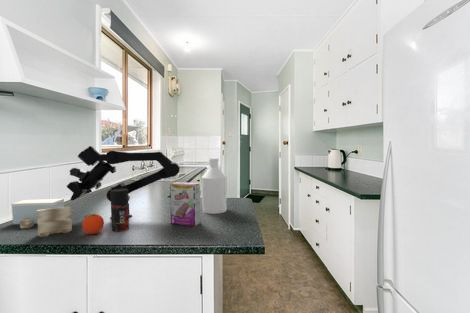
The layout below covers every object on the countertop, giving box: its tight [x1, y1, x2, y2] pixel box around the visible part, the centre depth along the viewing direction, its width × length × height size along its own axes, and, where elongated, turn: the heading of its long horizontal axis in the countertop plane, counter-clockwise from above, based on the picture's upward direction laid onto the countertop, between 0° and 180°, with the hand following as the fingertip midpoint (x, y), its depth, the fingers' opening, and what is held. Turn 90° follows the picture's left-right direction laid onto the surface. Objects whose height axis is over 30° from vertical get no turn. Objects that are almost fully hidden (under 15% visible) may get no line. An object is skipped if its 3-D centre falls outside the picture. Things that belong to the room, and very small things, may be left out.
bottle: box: [201, 157, 228, 215], centre depth 120 cm, size 12×12×25 cm
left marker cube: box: [19, 218, 35, 229], centre depth 99 cm, size 3×3×3 cm
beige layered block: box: [37, 205, 73, 238], centre depth 92 cm, size 10×5×9 cm, turn 126°
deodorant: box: [109, 188, 130, 233], centre depth 95 cm, size 6×6×15 cm
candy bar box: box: [169, 181, 201, 227], centre depth 101 cm, size 11×5×16 cm, turn 71°
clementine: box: [81, 213, 105, 235], centre depth 91 cm, size 8×7×7 cm
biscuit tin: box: [11, 198, 65, 225], centre depth 106 cm, size 16×7×9 cm, turn 95°
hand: (71, 199), depth 107 cm, fingers closed
